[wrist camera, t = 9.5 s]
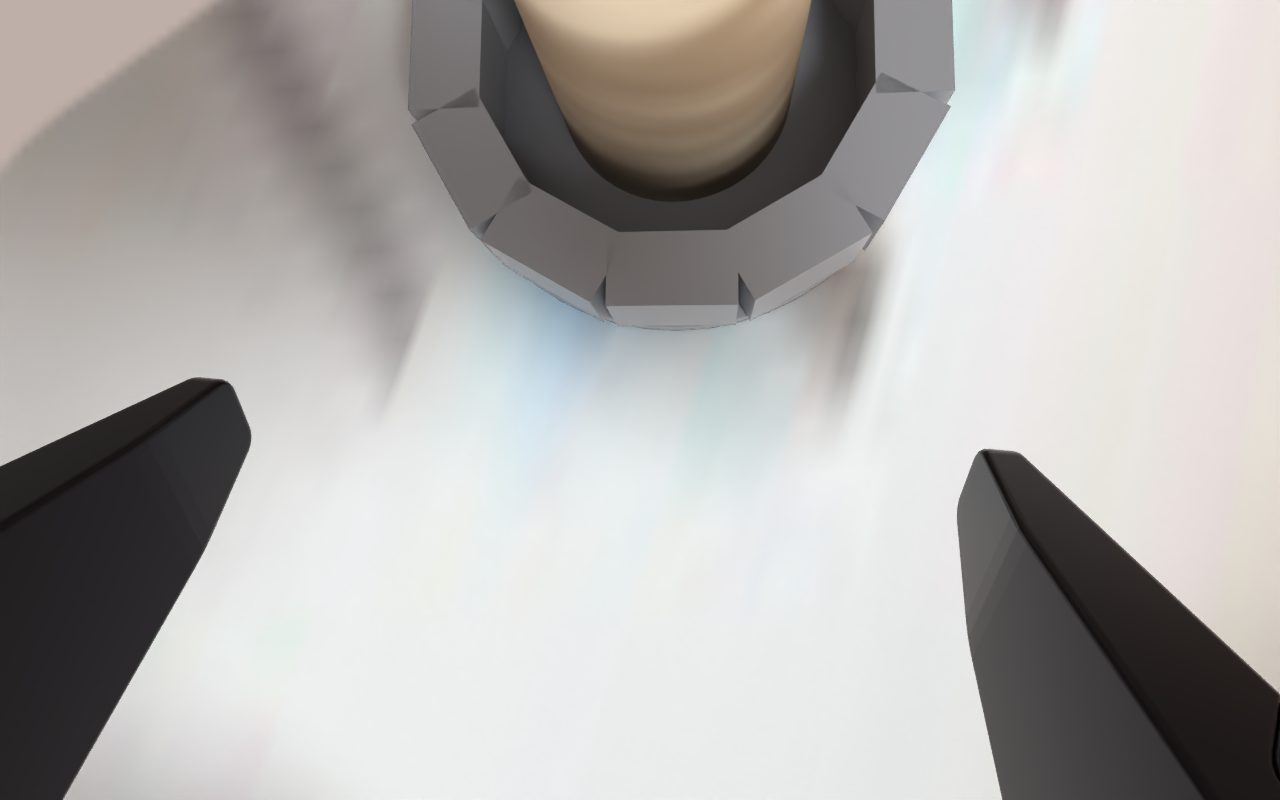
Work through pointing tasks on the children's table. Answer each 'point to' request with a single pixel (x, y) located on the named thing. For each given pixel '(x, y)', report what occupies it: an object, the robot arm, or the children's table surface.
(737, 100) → the beech plug
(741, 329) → the children's table surface
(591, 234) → the ring socket
